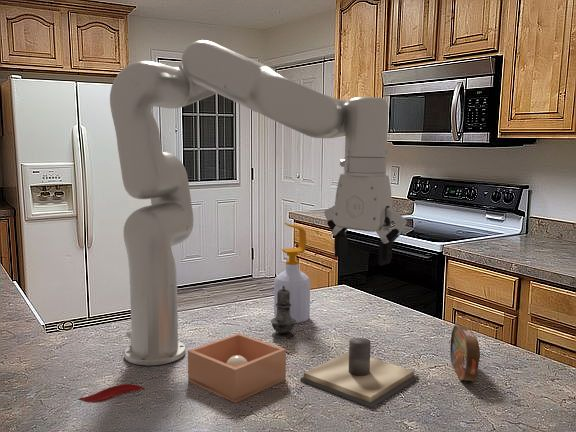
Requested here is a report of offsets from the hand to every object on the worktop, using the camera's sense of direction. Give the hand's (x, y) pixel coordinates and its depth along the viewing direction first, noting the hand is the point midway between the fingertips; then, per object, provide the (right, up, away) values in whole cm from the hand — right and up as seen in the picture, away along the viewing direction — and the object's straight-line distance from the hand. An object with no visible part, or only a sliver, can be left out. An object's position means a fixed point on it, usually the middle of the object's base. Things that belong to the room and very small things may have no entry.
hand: (361, 259), depth 103 cm
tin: (+21, -23, +7) cm, 32 cm away
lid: (0, -23, +3) cm, 23 cm away
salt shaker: (-15, -20, +27) cm, 37 cm away
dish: (-23, -23, +2) cm, 33 cm away
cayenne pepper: (-45, -24, -4) cm, 51 cm away
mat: (0, -23, +3) cm, 23 cm away
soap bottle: (-13, -18, +40) cm, 45 cm away
